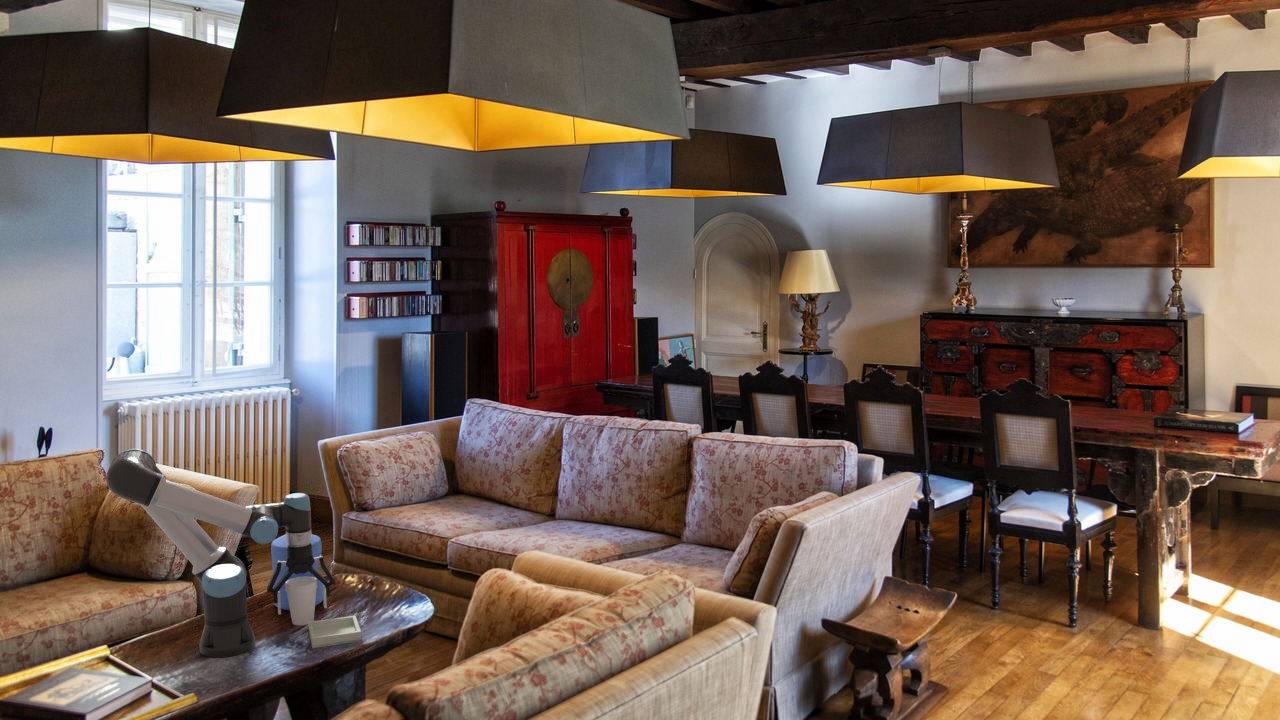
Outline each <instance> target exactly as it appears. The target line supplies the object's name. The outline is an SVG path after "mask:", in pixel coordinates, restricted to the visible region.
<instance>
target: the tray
mask: <svg viewBox="0 0 1280 720" xmlns="http://www.w3.org/2000/svg"><path fill="white" fill-rule="evenodd" d="M307 625H308V626H307V627H308V635H309V639H310V643H311V649H318V648H324V647H330V646H338V645H346V644H351V643H358V642H362V631H361V627H360V625H359V620H358V619H357V616H356V615H348V616H343V617H335V618H327V619H321V620H320V619H319V620H314V621H311V622H308V624H307Z"/></svg>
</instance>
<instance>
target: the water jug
mask: <svg viewBox="0 0 1280 720" xmlns="http://www.w3.org/2000/svg"><path fill="white" fill-rule="evenodd" d="M311 543H312V553H313V558H316V557H319V556H320V555H322V540H321V537H320V536H318V535H315V534H312V541H311ZM287 545H288V544H287V543H286V533H285V534H284V535H281V536H278V537H276V538H275V539H274V540H273V541H272V542H271V549H270V551H271V555H270V556H271V562H272V563H271V564H272V566H271V567H272V575H271V577H272V576H273V573H274V571H275V569H276V566H277V561H278V560H280V561H286V560H287ZM312 567H313V568H314V569H315V570H316V571H317V572H319V564H317V562H314V564H313V565H312ZM288 569H289V568H288V567H287V566H286V565H285V566H284V567H283V568H282V569H281V571H280V573H279V575H278V577H277V580H276V582H275V584H274V586H273V588H274V587H275V586H276V585H277V583H278V582H279V581H280V580H281V578H282V577H283V576H284V574H285V573H286V572H287V570H288ZM303 576H309V577H314V578H316V577H315V576H314V575H313V574H311V573H310V572H309V571H308V572H306V573H300V574H294V573H293V574H292V575H291V576H290V577H289V578H288V580H289V579H292V578H296V577H303ZM316 579H317V578H316ZM323 585H324V584H323V583H321V582H320V581H319V580H318V579H317V590H316V601H315V607H316V606H317V605H320V603H322V602H323ZM279 591H280V603H281V610H286V611H290V607H289V602H288V597H287V592H286V590H285V584H284V585H283V586H282V587H281V589H280V590H279ZM273 604H274V606H275V607H277V608H278V603H274V602H273Z"/></svg>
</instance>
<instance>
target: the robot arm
mask: <svg viewBox="0 0 1280 720" xmlns="http://www.w3.org/2000/svg"><path fill="white" fill-rule="evenodd" d="M105 480H106V484H107V486H108V489H109V490H110V491H111V492H112V493H113V494H114V495H115V496H116V497H119V498H120V499H123V500H127V501H129V502H130V504H132V505H138V506H141V507H142V508H143V510H144V511H145V512H146V513H147V515H149V517H150V518H151V519H152V520H153V522H155V523H156V525H158V527H159V528H160V530H162V531H163V533H164V534H165V535H166V536H167V537H168V538H169V540H170V541H171V542H172V543H173V545H175V547H176V548H177V549H178V550H179V551H180V552H181V554H183V555H184V556H185V558H186V559H187V560H188V561H189V562H190V563H191V565H192V566H193V567H192V571H191V572H192V574H193V575H194V576H195V578H196V579H197V580H198V581H199V582H200V583H201V588H202V600H203V602H202V603H203V617H204V627H203V629H202V630H203V631H202V633H201V637H200V639H199V640H200V641H199V652H200V654H201V655H203V656H205V657H209V658H227V657H234V656H237V655H240V654H241V655H242V654H243V653H246V652H247V651H248V652H249V651H250V650H252V648H254V647H255V645H256V638H255V633H254V631H253V629H252V626H251V624H250V622H249V620H248V607H247V606H248V604H247V569H246V566H245V563H243V561H242V560H241V559H240V558H239V557H237V556H235V555H234V554H232V553H231V552H230V550H229V549H227V547H226V546H218V545H217V544H216V543H215V541H214V540H213V539H212V538H211V537H210V536H209V534H208V533H207V532H206V531H205V530H204V529H203V527H202V526H201V525H200V524H199V523H198V522H197V520H199V521H201V522H205V523H208V524H211V525H213V526H215V527H216V526H217V527H220V528H223V529H225V530H230V531H232V532H235V533H238V534H241V535H244V536H246V537H250V538H251V539H252V540H253V541H254V542H255V543H257V544H260V545H267V544H270V543H272V542H273V541H274V540H275V539H277V537H278V532H279V528H285V534H286V543H287V544H288V545H287V560H286V561H280V560H278V561H277V566H276V569H275V571H274V573H273V572H272V573H273V576H272V575H271V578H270V580H269V583H268V584H267V587H266V592H267V593H269V594H272V595H273V596H272V597H273V604H274V603H278V607H277V615H282V609H281V603H280V591H279V590H280V589H281V587H282V586H283V585H284V584H285V582H286V581H287V580H288V578H289V577H290V576H291V575H292V574H293V573H294V574H300V573H306V572H308V571H309V572H310V573H311V574H313V575H314V576H315V577H316V578H317V579H318V580H319V581H320V582H321V583H323V601H322V602H323V608H324V609H327V607H328V606H327V602H328V601H327V600H328V599H327V598H328V597H330V596H331V589H330V588H331V586H332V585H335V584H336V580H335V578H334V576H333V574H332V573H331V572H330V570H329V568H328V567H327V565H326V563H325V559H324V556H323V555H322V554H321V555H320V556H319V557H316V558H313V553H312V543H311V541H312V516H311V515H312V514H311V510H312V509H311V499H310V496H309V495H308V494H307V493H303V492H295V493H290V494H287V495H285V496H284V498H283V501H281V502H272V503H263V504H262V503H261V504H259V503H258V504H256V503H255V504H251V505H246V506H243V505H240V504H238V503H235V502H231V501H230V500H226V499H223V498H220V497H217V496H214V495H212V494H209V493H205V492H203V491H199V490H197V489H194V488H192V487H189V486H186V485H182V484H180V483H177V482H173V481H171V480H168V478H167V477H166V476H165V474H164V473H163V472H162V471H161V470H160V469H159V467H158V466H157V462H156V461H155V458H154V457H153V456H152V455H151V454H150V453H149V452H147V451H146V450H144V449H141V448H129V449H126V450H124V451H122V452H120V453H119V454H117V455H116V456H115V457H114V458H113V459H112V462H111V463H110V466H109V468H108V470H107V472H106V479H105ZM314 562H317V564H318V565H320V567H321V569H322V570H323V572H324V574H325V575H326V577H327V579H326V578H325V577H324V576H323V575H322V574H321V573H320V572H319V571H318V572H317V571H316V570H315V569H314V568H313V567H312V565H313V564H314ZM285 565H286V566H287V567H288V568H289V569H288V570H287V572H286V573H285V574H284V576H283V577H282V578H281V580H280V581H279V582H278V583H277V585H276V586H275V587H273V586H274V584H275V582H276V580H277V577H278V575H279V573H280V571H281V569H282V568H283V567H284V566H285Z"/></svg>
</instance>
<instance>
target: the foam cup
mask: <svg viewBox="0 0 1280 720" xmlns="http://www.w3.org/2000/svg"><path fill="white" fill-rule="evenodd" d="M285 590H286V592H287V597H288V602H289V607H290V610H289V612H290V617H291V621H292V625H294V626H307V625H308V622H311V621H315V609H316V606H315V601H316V590H317V579H316V578H314V577H309V576H303V577H296V578H292V579H289V580H287V581H286V582H285Z"/></svg>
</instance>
